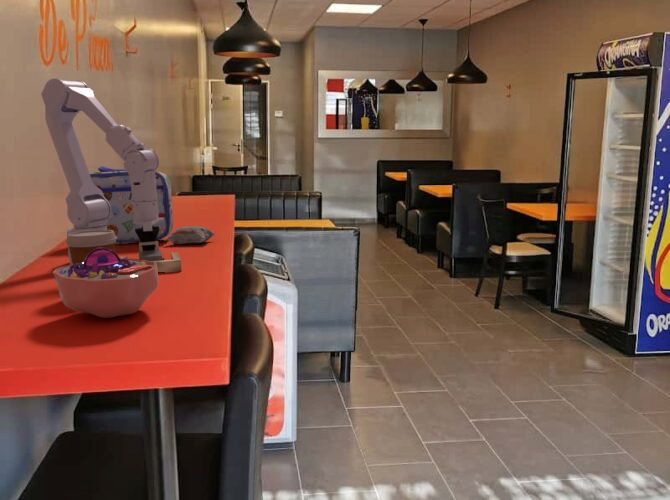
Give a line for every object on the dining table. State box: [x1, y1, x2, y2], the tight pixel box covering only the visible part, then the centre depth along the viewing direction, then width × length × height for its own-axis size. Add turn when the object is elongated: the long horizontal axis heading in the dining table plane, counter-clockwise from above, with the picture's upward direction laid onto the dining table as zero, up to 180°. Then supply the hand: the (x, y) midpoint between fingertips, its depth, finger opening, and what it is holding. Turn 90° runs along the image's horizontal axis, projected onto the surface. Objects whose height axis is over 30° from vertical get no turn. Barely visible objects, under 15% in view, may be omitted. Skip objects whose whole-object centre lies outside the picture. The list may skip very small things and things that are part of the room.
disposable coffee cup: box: [65, 230, 117, 264], centre depth 138 cm, size 10×10×12 cm
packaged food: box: [163, 225, 216, 246], centre depth 198 cm, size 9×12×5 cm
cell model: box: [52, 248, 160, 319], centre depth 121 cm, size 17×20×11 cm
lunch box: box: [84, 166, 174, 245], centre depth 203 cm, size 28×10×22 cm, turn 92°
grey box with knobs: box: [137, 240, 165, 261], centre depth 164 cm, size 6×9×5 cm
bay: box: [120, 251, 183, 273], centre depth 162 cm, size 13×12×2 cm
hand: (149, 257), depth 170 cm, fingers closed
